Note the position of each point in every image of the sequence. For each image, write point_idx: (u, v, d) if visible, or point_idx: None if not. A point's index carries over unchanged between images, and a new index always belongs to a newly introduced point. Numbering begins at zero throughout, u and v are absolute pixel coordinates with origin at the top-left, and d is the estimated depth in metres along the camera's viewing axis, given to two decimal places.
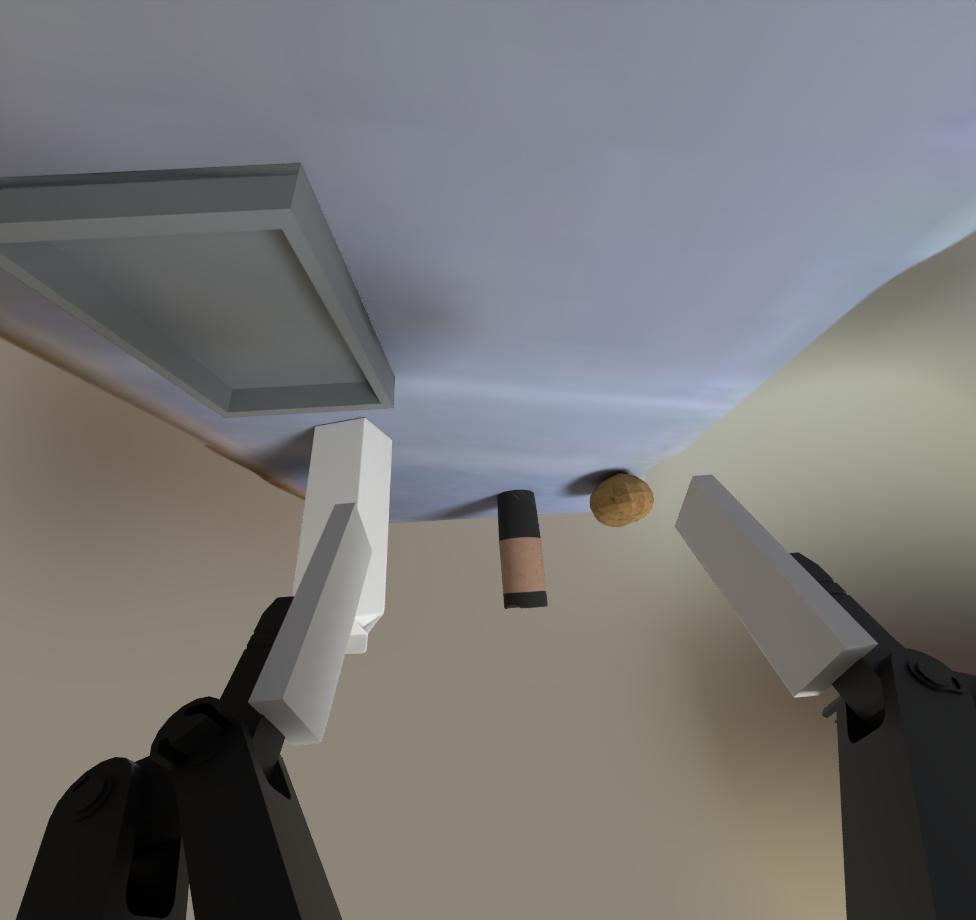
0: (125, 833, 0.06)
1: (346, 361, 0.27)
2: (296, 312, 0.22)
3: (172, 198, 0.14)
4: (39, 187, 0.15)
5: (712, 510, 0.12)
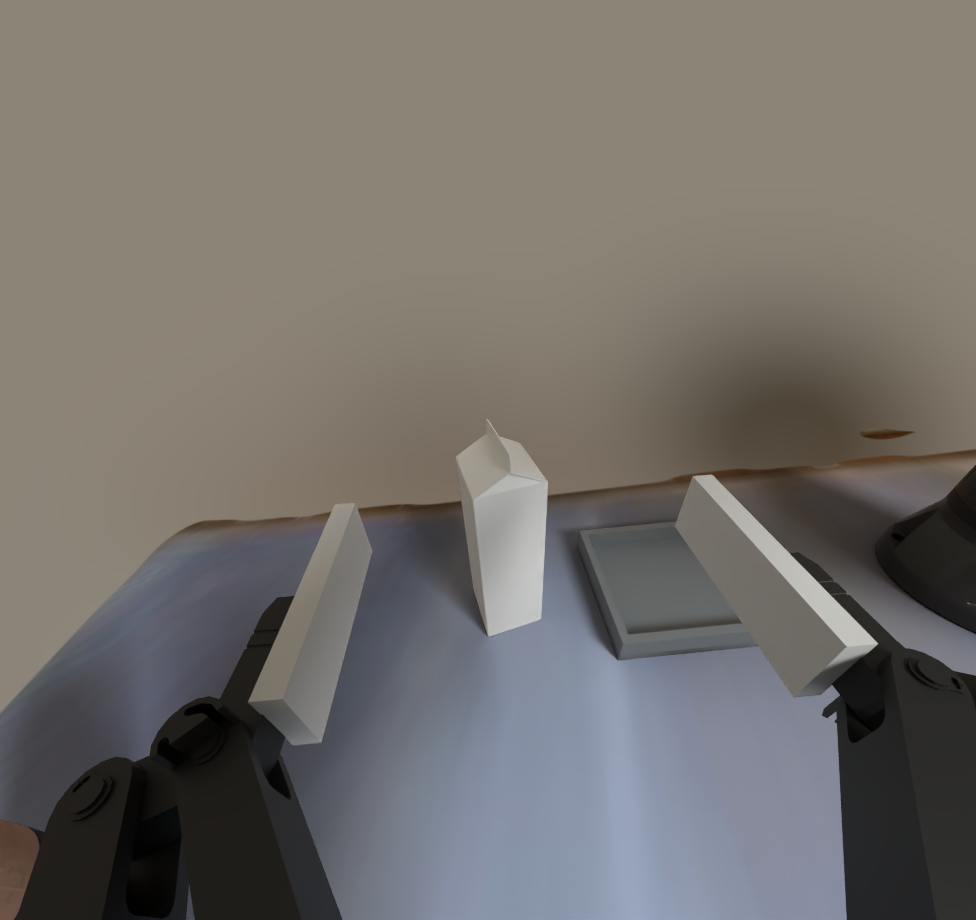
0: (125, 833, 0.06)
1: (643, 624, 0.35)
2: (685, 608, 0.36)
3: None
4: None
5: (712, 509, 0.12)
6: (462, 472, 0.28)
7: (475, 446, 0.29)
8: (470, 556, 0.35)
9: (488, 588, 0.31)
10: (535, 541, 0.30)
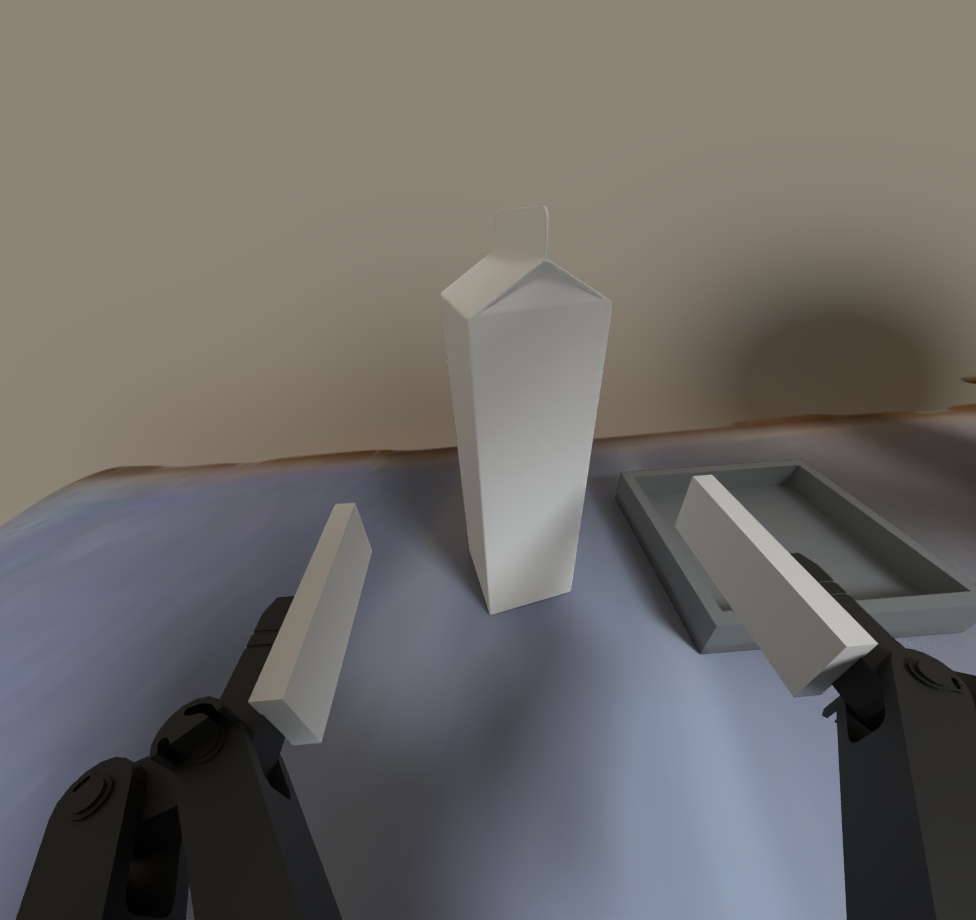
0: (125, 833, 0.06)
1: None
2: None
3: None
4: None
5: (712, 509, 0.12)
6: (450, 301, 0.15)
7: (474, 268, 0.17)
8: (464, 488, 0.23)
9: (492, 528, 0.19)
10: (577, 441, 0.17)
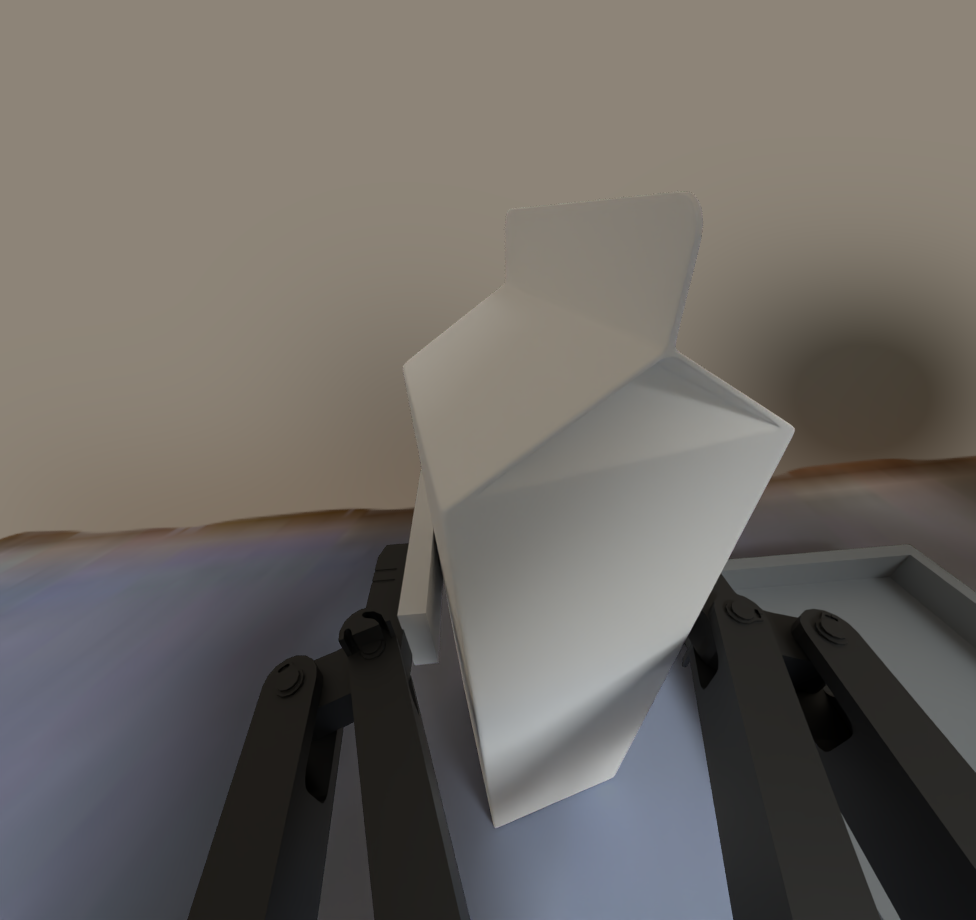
0: (309, 722, 0.08)
1: None
2: None
3: None
4: None
5: None
6: (414, 400, 0.07)
7: (465, 322, 0.09)
8: None
9: (501, 765, 0.11)
10: (661, 644, 0.09)
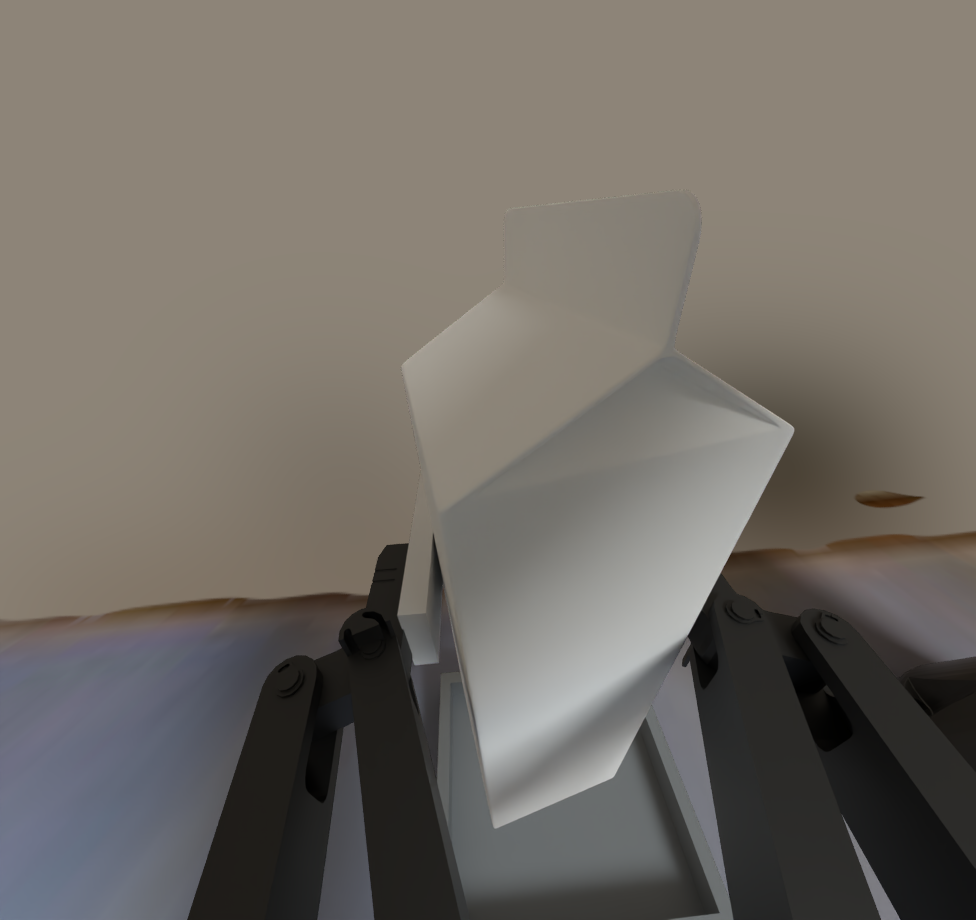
0: (309, 722, 0.08)
1: (497, 886, 0.21)
2: (573, 847, 0.22)
3: None
4: None
5: None
6: (413, 400, 0.07)
7: (464, 321, 0.09)
8: (454, 640, 0.15)
9: (500, 766, 0.11)
10: (661, 645, 0.09)
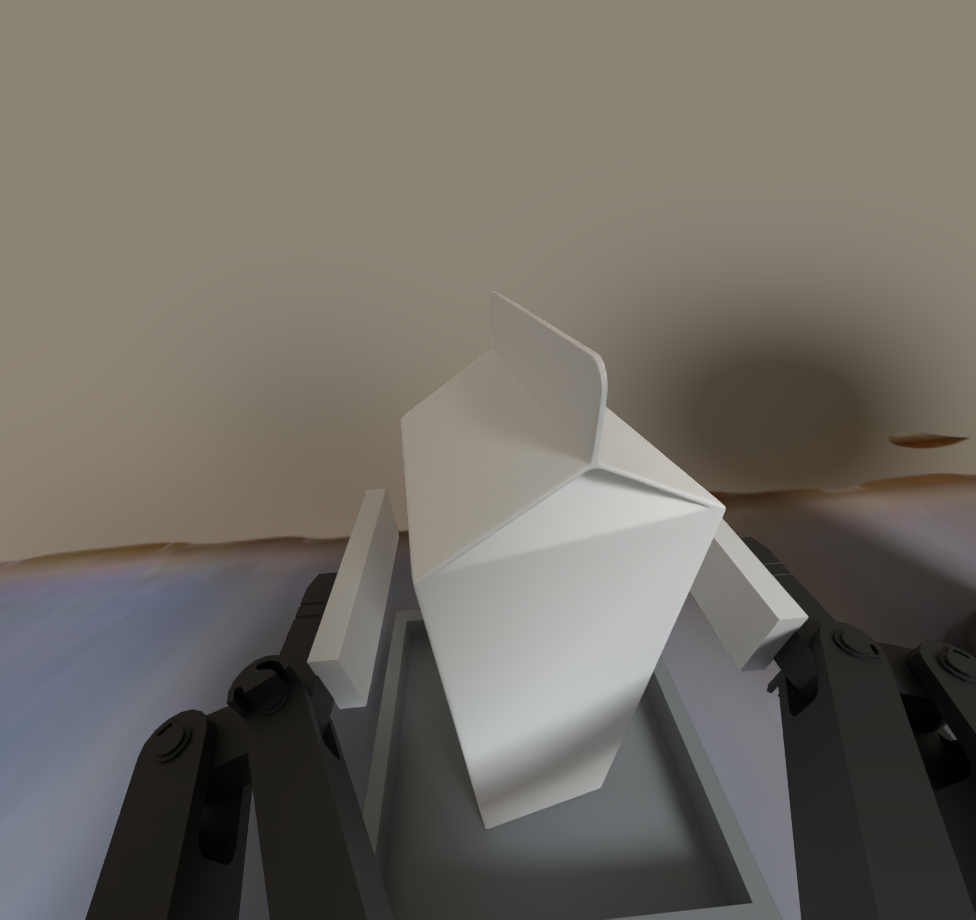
0: (200, 781, 0.07)
1: (447, 866, 0.16)
2: (552, 816, 0.17)
3: None
4: None
5: None
6: (405, 461, 0.08)
7: (454, 384, 0.10)
8: None
9: (485, 774, 0.12)
10: (628, 675, 0.10)
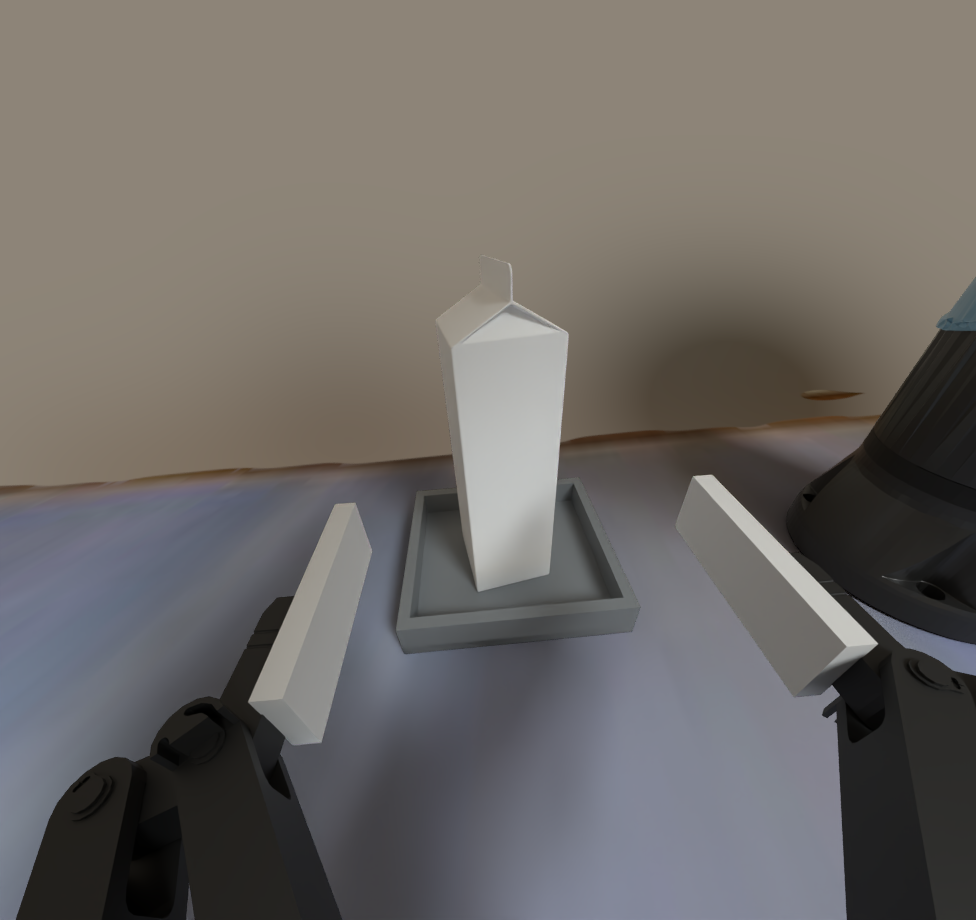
0: (126, 833, 0.06)
1: (455, 606, 0.26)
2: (518, 586, 0.27)
3: None
4: None
5: (712, 509, 0.12)
6: (441, 328, 0.19)
7: (462, 300, 0.20)
8: (457, 482, 0.26)
9: (477, 514, 0.22)
10: (546, 443, 0.21)
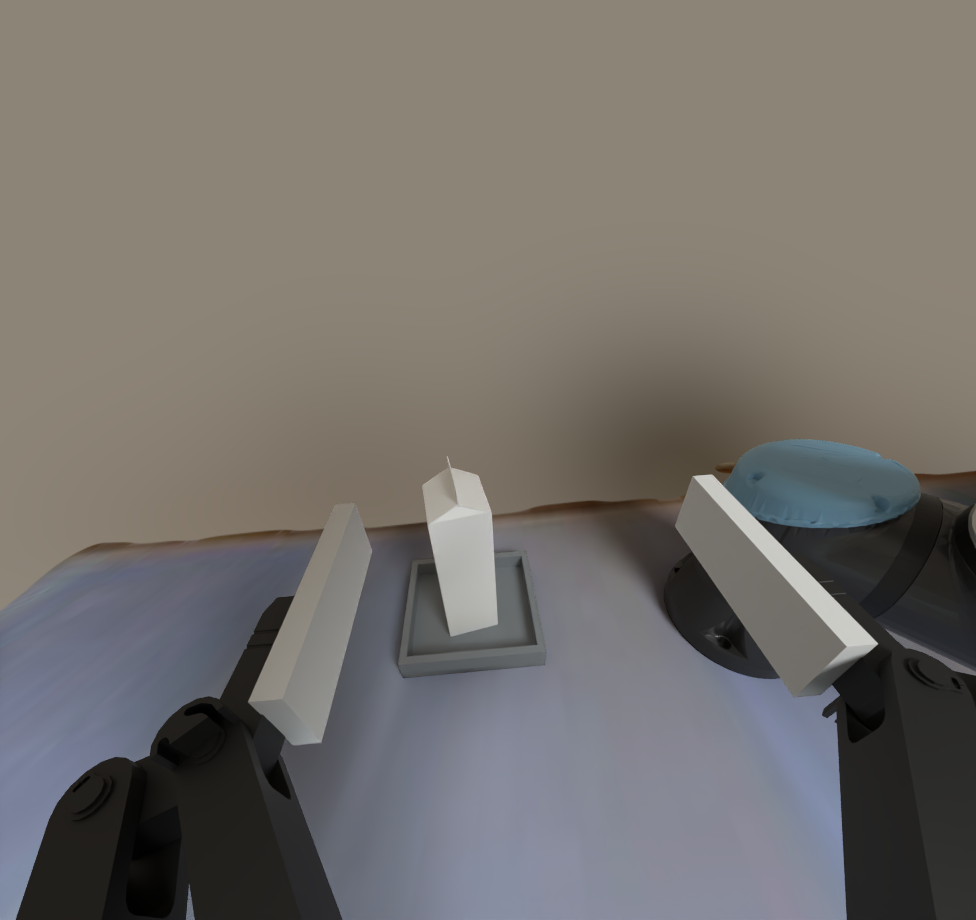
0: (125, 833, 0.06)
1: (435, 646, 0.41)
2: (477, 633, 0.42)
3: None
4: None
5: (712, 509, 0.12)
6: (424, 499, 0.34)
7: (437, 477, 0.35)
8: None
9: (447, 595, 0.37)
10: (485, 558, 0.35)
